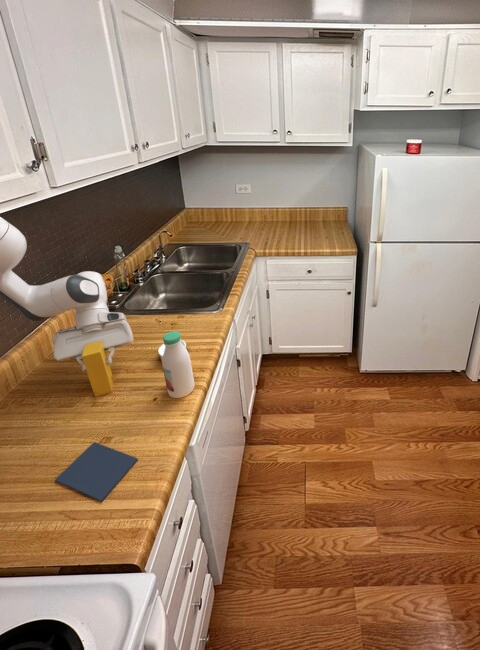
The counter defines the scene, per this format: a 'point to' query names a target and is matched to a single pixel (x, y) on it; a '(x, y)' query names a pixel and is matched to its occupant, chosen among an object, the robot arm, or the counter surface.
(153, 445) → the counter surface
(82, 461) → the mat
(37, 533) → the counter surface
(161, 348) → the ramekin
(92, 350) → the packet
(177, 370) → the milk bottle
